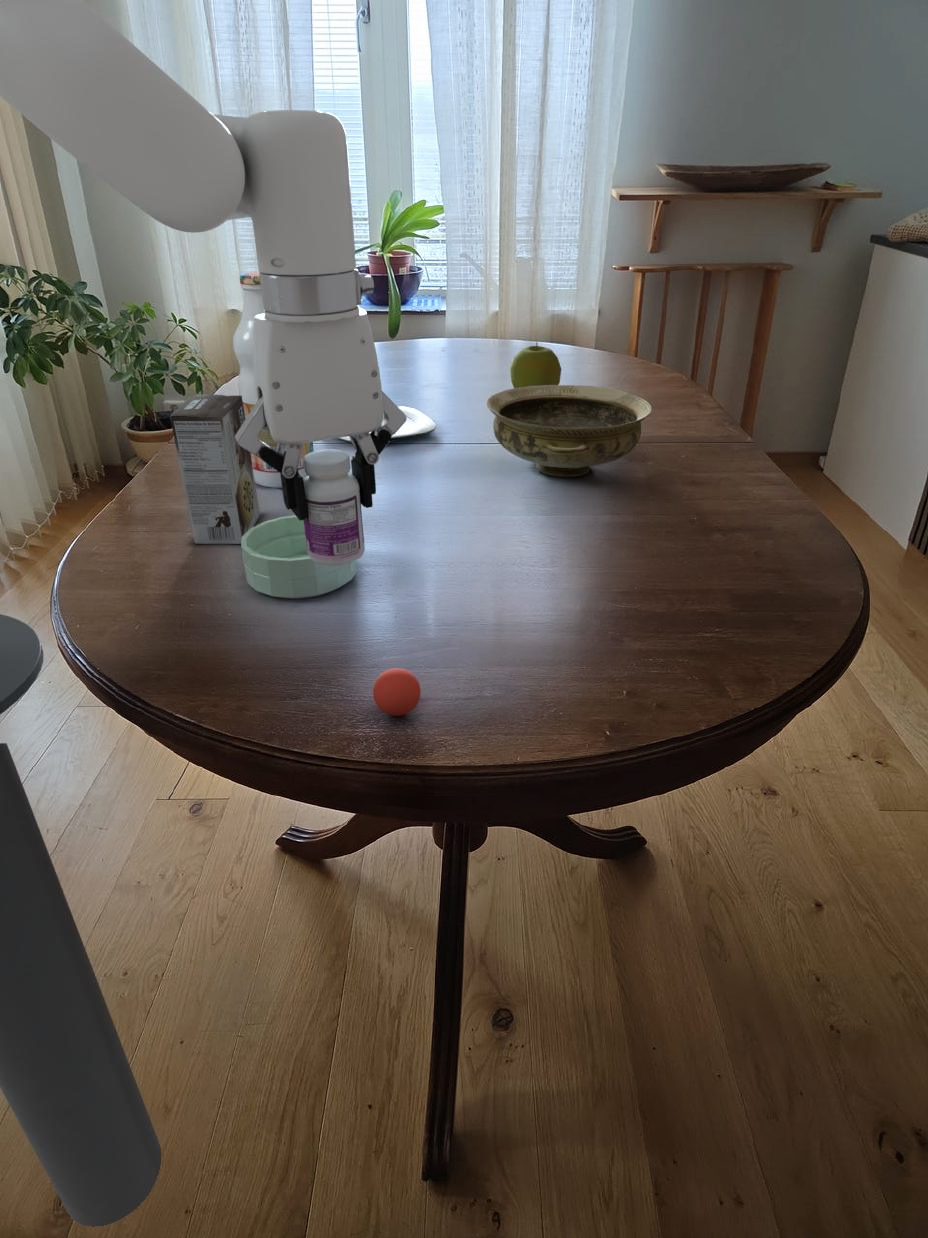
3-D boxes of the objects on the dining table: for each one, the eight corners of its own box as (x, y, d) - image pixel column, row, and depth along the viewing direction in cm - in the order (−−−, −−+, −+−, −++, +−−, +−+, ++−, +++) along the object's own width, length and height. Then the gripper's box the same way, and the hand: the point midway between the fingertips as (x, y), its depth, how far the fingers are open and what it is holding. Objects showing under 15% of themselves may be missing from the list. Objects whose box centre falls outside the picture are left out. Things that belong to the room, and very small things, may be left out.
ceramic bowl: (649, 509, 106) (658, 436, 101) (473, 500, 109) (473, 429, 104) (639, 441, 131) (646, 380, 126) (497, 435, 134) (498, 375, 129)
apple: (501, 396, 157) (502, 338, 151) (544, 391, 160) (546, 334, 154) (523, 408, 149) (525, 348, 143) (568, 403, 152) (572, 344, 146)
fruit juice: (239, 478, 117) (206, 274, 103) (290, 462, 123) (266, 267, 109) (277, 494, 111) (249, 280, 97) (329, 476, 117) (309, 273, 103)
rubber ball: (403, 731, 65) (401, 691, 63) (365, 715, 67) (361, 677, 65) (430, 706, 68) (429, 667, 66) (392, 692, 70) (390, 654, 68)
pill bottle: (316, 541, 76) (305, 445, 72) (370, 544, 76) (363, 446, 71) (300, 566, 72) (287, 465, 67) (357, 569, 71) (348, 467, 66)
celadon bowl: (308, 613, 82) (302, 570, 79) (224, 585, 88) (217, 544, 85) (378, 568, 91) (375, 528, 88) (298, 545, 96) (294, 507, 94)
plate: (315, 423, 141) (314, 413, 140) (410, 411, 147) (409, 402, 146) (342, 452, 127) (341, 442, 126) (446, 438, 133) (446, 428, 132)
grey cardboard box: (213, 515, 105) (191, 393, 96) (261, 515, 105) (243, 393, 96) (192, 544, 97) (166, 414, 89) (244, 544, 97) (223, 414, 89)
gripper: (393, 282, 69) (403, 480, 78) (191, 297, 62) (228, 511, 71) (428, 293, 63) (434, 506, 72) (209, 311, 56) (247, 542, 65)
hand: (331, 506), depth 71 cm, fingers closed on pill bottle, 5 cm apart
